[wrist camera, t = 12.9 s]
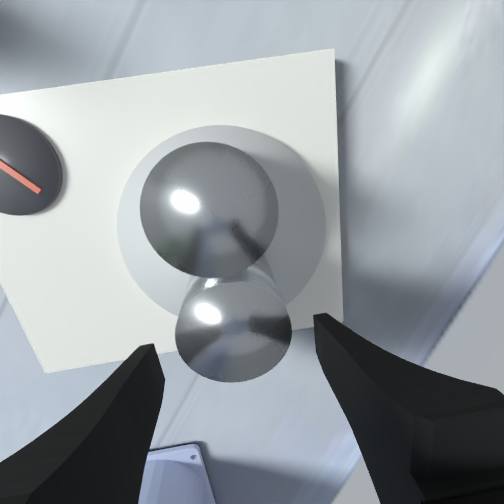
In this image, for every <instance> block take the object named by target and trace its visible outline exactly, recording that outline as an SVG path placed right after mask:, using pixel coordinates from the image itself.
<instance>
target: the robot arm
mask: <svg viewBox="0 0 504 504" xmlns="http://www.w3.org/2000/svg"><path fill="white" fill-rule="evenodd" d="M313 321H314V333H315V345H316V353H317V356H318V359H319V362H320V364H321V367H322V370H323V372H324V374H325V376H326V378H327V380H328V382H329V384H330V386H331V388H332V390H333V392H334V394H335V396H336V398H337V400H338V402H339V404H340V406H341V408H342V410H343V412H344V414H345V415H346V417H347V420H348V422H349V424H350V426H351V428H352V430H353V433H354V435H355V438H356V440H357V443H358V445H359V448H360V450H361V453H362V456H363V458H364V461H365V463H366V466H367V469H368V471H369V474H370V476H371V479H372V482H373V484H374V487H375V490H376V492H377V495H378V498H379V501H380V503H381V504H504V395H503V394H502V393H501V392H500V391H498V390H497V389H495V388H491V387H487V386H483V385H480V384H476V383H471V382H467V381H464V380H460V379H457V378H453V377H450V376H447V375H444V374H441V373H437V372H435V371H432V370H429V369H426V368H424V367H421V366H419V365H416V364H414V363H411V362H409V361H406V360H404V359H402V358H400V357H398V356H396V355H394V354H391V353H389V352H387V351H385V350H383V349H382V348H380V347H378V346H376V345H374V344H373V343H371V342H369V341H367V340H366V339H364V338H363V337H361V336H359V335H358V334H356V333H355V332H353V331H352V330H350V329H349V328H347V327H346V326H344V325H343V324H342V323H340V322H339V321H337V320H336V319H335V318H333V317H332V316H330V315H329V314H328V313H321V314H315V315H313ZM164 384H165V377H164V374H163V371H162V368H161V365H160V362H159V358H158V355H157V352H156V349H155V346H154V343H151V344H146V345H140V346H139V347H138V348H137V349H136V350H135V351H134V352H133V353H132V354H131V355H130V356H129V357H128V358H127V359H126V360H125V361H124V362H123V363H122V364H121V365H120V366H119V367H118V368H117V369H116V370H115V371H114V372H113V373H112V374H111V376H110V377H109V378H108V379H107V380H106V381H104V382H103V383H102V384H101V385H100V386H99V387H98V388H97V389H96V390H95V391H94V392H93V393H92V394H91V395H90V396H89V397H88V398H87V399H85V400H84V401H83V402H82V403H81V404H80V405H79V406H77V407H76V408H75V409H74V410H73V411H72V412H70V413H69V414H68V415H67V416H65V417H64V418H63V419H62V420H60V421H59V422H58V423H57V424H55V425H54V426H52V427H51V428H50V429H48V430H47V431H46V432H44V433H43V434H42V435H40V436H39V437H38V438H36V439H35V440H33V441H32V442H31V443H29V444H28V445H26V446H25V447H23V448H22V449H20V450H19V451H17V452H16V453H14V454H13V455H11V456H10V457H8V458H7V459H5V460H3V461H2V462H0V504H216V503H215V499H214V496H213V492H212V489H211V486H210V482H209V479H208V475H207V472H206V469H205V465H204V462H203V458H202V455H201V452H200V448H199V446H198V445H196V444H189V445H183V446H178V447H172V448H167V449H162V450H156V451H151V452H149V448H150V445H151V441H152V437H153V434H154V430H155V426H156V423H157V419H158V415H159V412H160V408H161V404H162V399H163V392H164Z"/></svg>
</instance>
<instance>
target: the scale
mask: <svg viewBox="0 0 504 504" xmlns="http://www.w3.org/2000/svg"><path fill="white" fill-rule="evenodd" d="M197 142H218V143H223V144H227V145H230V146H233V147H235V148H238V149H239V150H241V151H243V152H245V153H246V154H248V155H249V156H251V157H252V158H253V159H254V160H255V161H257V162H258V163H259V164H260V165H261V167H262V168H263V169H264V170H265V172H266V173H267V175H268V176H269V178H270V179H271V181H272V184H273V186H274V188H275V191H276V195H277V199H278V206H279V217H278V225H277V229H276V233H275V235H274V238H273V240H272V242H271V244H270V246H269V247H268V249H267V250H266V251H265V253H264V255H265V256H266V258H267V260H268V262H269V265H270V267H271V270H272V273H273V275H274V278H275V280H276V283H277V286H278V288H279V291H280V294H281V296H282V299H283V301H284V304H285V307H286V309H287V312H288V315H289V317H290V321H291V325H292V331H293V330H299V329H305V328H311V327H314V321H313V315H315V314H321V313H328V314H329V315H330V316H332V317H333V318H335V319H336V320H337V321H339V322H343V292H342V263H341V233H340V203H339V173H338V144H337V114H336V84H335V54H334V48H332V49H324V50H317V51H310V52H303V53H296V54H289V55H282V56H274V57H267V58H260V59H253V60H246V61H239V62H231V63H224V64H217V65H210V66H203V67H196V68H188V69H181V70H174V71H167V72H160V73H153V74H145V75H138V76H131V77H124V78H117V79H110V80H103V81H95V82H88V83H81V84H74V85H67V86H60V87H52V88H45V89H38V90H31V91H24V92H17V93H9V94H2V95H0V283H1V285H2V287H3V289H4V291H5V293H6V295H7V297H8V299H9V301H10V303H11V305H12V307H13V309H14V311H15V313H16V315H17V317H18V319H19V321H20V323H21V325H22V327H23V329H24V331H25V333H26V335H27V337H28V339H29V341H30V343H31V345H32V347H33V349H34V351H35V353H36V355H37V357H38V359H39V361H40V363H41V365H42V367H43V369H44V371H45V373H51V372H56V371H62V370H68V369H74V368H79V367H85V366H91V365H97V364H103V363H108V362H114V361H120V360H126V359H127V358H128V357H129V356H130V355H131V354H132V353H133V352H134V351H135V350H136V349H137V348H138V347H139V346H140V345H146V344H151V343H154V346H155V349H156V352H157V354H160V353H166V352H172V351H178V349H177V346H176V342H175V328H176V323H177V320H178V316H179V313H180V309H181V306H182V302H183V299H184V295H185V292H186V288H187V285H188V281H189V278H190V274H187V273H184V272H182V271H180V270H178V269H176V268H174V267H172V266H171V265H170V264H168V263H167V262H166V261H165V260H163V259H162V258H161V257H160V256H159V255H158V254H157V252H156V251H155V250H154V249H153V247H152V246H151V244H150V243H149V241H148V239H147V237H146V235H145V233H144V230H143V227H142V223H141V218H140V197H141V193H142V188H143V186H144V183H145V181H146V179H147V177H148V175H149V173H150V171H151V170H152V169H153V168H154V166H155V165H156V164H157V163H158V162H159V161H160V160H161V159H162V158H163V157H164V156H166V155H167V154H168V153H170V152H171V151H173V150H175V149H177V148H179V147H182V146H185V145H187V144H192V143H197Z"/></svg>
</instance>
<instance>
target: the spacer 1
mask: <svg viewBox="0 0 504 504" xmlns="http://www.w3.org/2000/svg"><path fill="white" fill-rule="evenodd" d="M278 217H279V206H278V199H277V195H276V191H275V188H274V186H273V184H272V181H271V179H270V178H269V176H268V175H267V173H266V172H265V170H264V169H263V168H262V167H261V165H260V164H259V163H258V162H257V161H255V160H254V159H253V158H252V157H251V156H249V155H248V154H246V153H245V152H243V151H241V150H239V149H238V148H235V147H233V146H230V145H227V144H223V143H218V142H197V143H192V144H187V145H185V146H182V147H179V148H177V149H175V150H173V151H171V152H170V153H168V154H167V155H166V156H164V157H163V158H162V159H161V160H160V161H159V162H158V163H157V164H156V165H155V166H154V168H153V169H152V170H151V171H150V173H149V175H148V177H147V179H146V181H145V183H144V186H143V188H142V193H141V197H140V218H141V223H142V227H143V230H144V233H145V235H146V237H147V239H148V241H149V243H150V244H151V246H152V247H153V249H154V250H155V251H156V252H157V254H158V255H159V256H160V257H161V258H162V259H163V260H165V261H166V262H167V263H168V264H170V265H171V266H172V267H174V268H176V269H178V270H180V271H182V272H184V273H187V274H190V275H193V276H197V277H204V278H218V277H225V276H230V275H233V274H236V273H238V272H241V271H243V270H245V269H246V268H248V267H249V266H251V265H252V264H254V263H255V262H256V261H257V260H258V259H259V258H260V257H261V256H262V255H263V254H264V253H265V251H266V250H267V249H268V247H269V246H270V244H271V242H272V240H273V238H274V235H275V233H276V229H277V225H278Z"/></svg>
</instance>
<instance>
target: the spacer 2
mask: <svg viewBox="0 0 504 504" xmlns="http://www.w3.org/2000/svg"><path fill="white" fill-rule="evenodd" d="M291 337H292V325H291V321H290V317H289V315H288V312H287V309H286V307H285V304H284V301H283V299H282V296H281V294H280V291H279V288H278V286H277V283H276V280H275V278H274V275H273V273H272V270H271V267H270V265H269V262H268V260H267V258H266V256H265V255H264V254H263V255H262V256H261V257H260V258H259V259H258V260H257V261H256V262H255V263H254V264H252V265H251V266H249V267H248V268H246V269H245V270H243V271H241V272H238V273H236V274H233V275H230V276H225V277H218V278H204V277H197V276H193V275H190V278H189V281H188V285H187V288H186V292H185V295H184V299H183V302H182V306H181V309H180V313H179V316H178V320H177V323H176V328H175V342H176V346H177V349H178V352H179V354H180V356H181V358H182V359H183V361H184V362H185V363H186V364H187V365H188V366H189V367H190V368H191V369H192V370H194V371H195V372H196V373H198V374H200V375H202V376H203V377H206V378H209V379H212V380H215V381H220V382H242V381H247V380H251V379H254V378H256V377H259V376H261V375H263V374H265V373H266V372H268V371H270V370H271V369H272V368H273V367H275V366H276V365H277V364H278V363H279V362H280V361H281V359H282V358H283V357H284V355H285V354H286V352H287V350H288V348H289V345H290V341H291Z"/></svg>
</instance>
